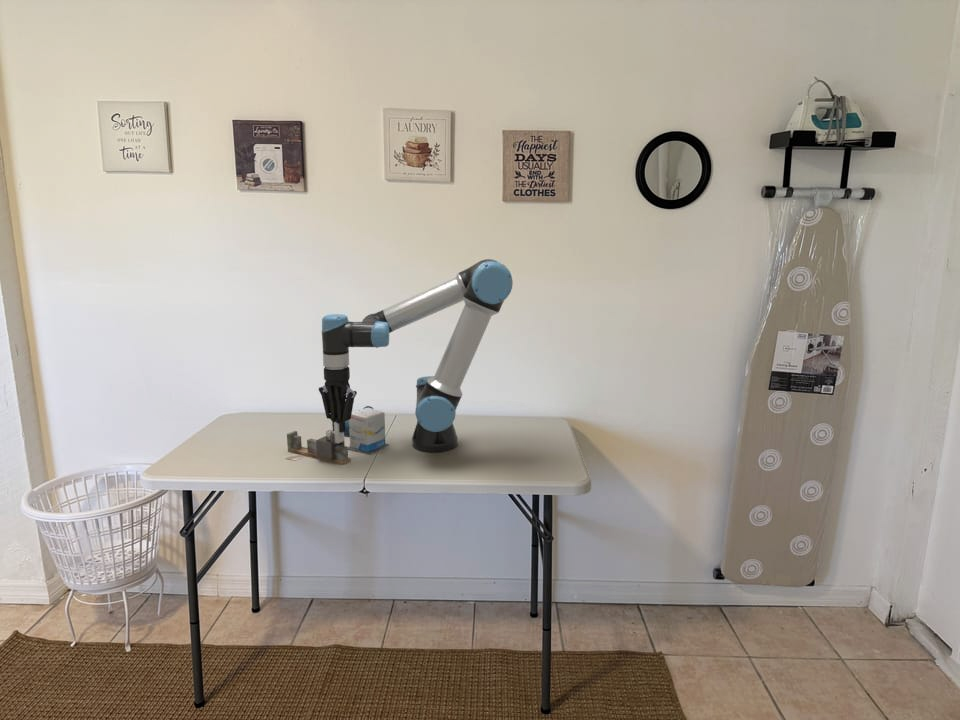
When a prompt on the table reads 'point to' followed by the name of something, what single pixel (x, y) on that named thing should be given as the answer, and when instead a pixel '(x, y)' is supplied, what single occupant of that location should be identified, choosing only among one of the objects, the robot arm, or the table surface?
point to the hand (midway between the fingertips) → (339, 441)
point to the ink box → (367, 429)
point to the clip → (327, 446)
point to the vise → (313, 449)
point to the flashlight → (348, 424)
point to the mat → (364, 451)
